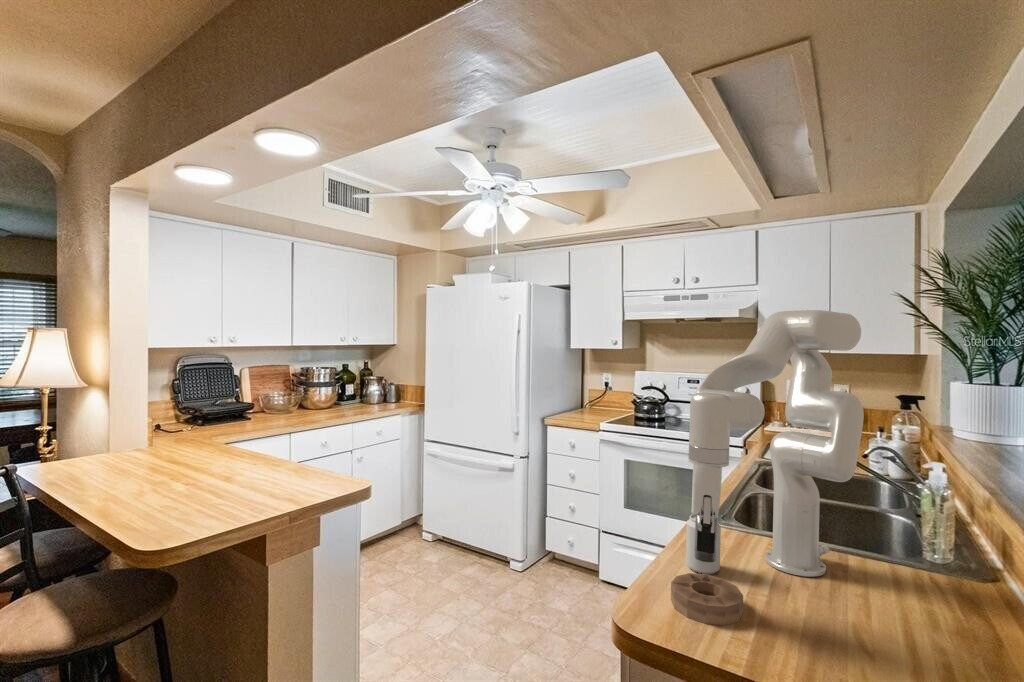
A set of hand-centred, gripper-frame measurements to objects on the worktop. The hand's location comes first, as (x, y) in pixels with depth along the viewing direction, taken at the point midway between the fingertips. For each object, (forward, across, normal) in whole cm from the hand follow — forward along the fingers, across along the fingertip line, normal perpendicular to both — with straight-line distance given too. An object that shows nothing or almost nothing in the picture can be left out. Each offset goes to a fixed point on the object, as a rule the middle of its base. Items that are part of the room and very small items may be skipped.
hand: (705, 546), depth 100 cm
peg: (+2, 0, 0) cm, 2 cm away
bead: (+12, -1, 0) cm, 12 cm away
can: (+12, -18, 0) cm, 22 cm away
